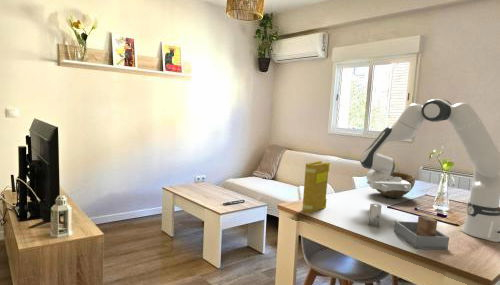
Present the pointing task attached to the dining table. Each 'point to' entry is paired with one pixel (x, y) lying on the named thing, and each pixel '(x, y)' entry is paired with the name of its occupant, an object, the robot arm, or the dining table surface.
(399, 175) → the bowl
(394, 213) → the dining table surface
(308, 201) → the book
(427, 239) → the tote
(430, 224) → the walnut block
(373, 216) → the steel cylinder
